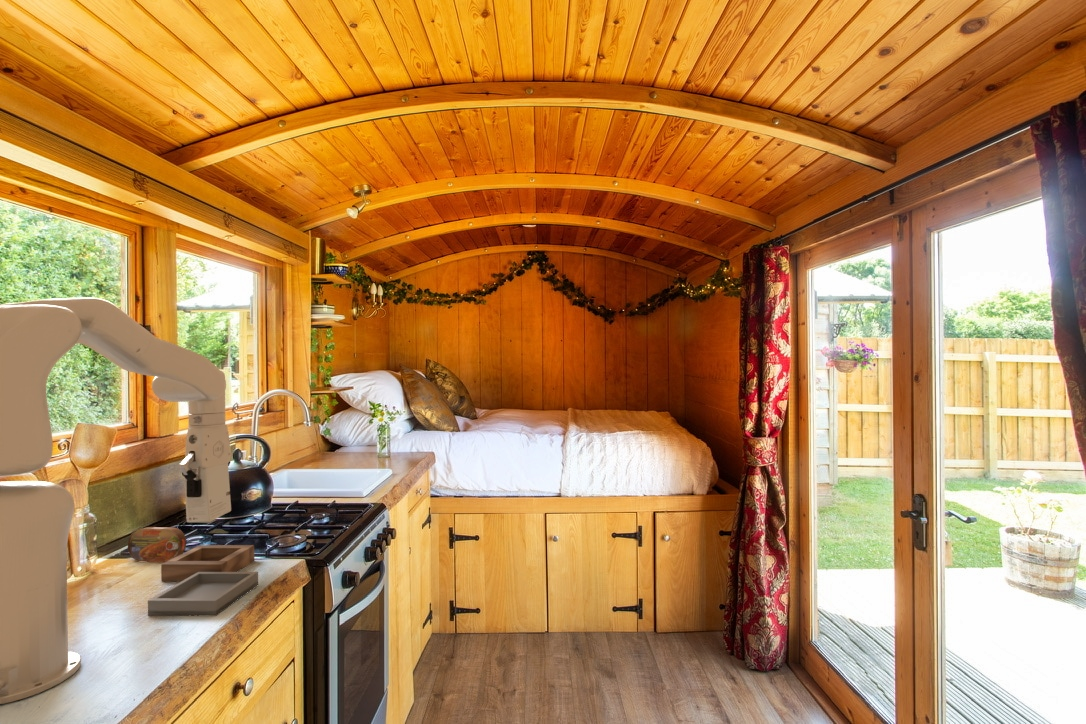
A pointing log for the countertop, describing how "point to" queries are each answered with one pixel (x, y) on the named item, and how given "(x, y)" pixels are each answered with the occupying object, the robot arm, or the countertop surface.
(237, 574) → the gray tray
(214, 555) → the walnut holder
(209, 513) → the skincare box
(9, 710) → the countertop surface
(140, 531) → the tin
